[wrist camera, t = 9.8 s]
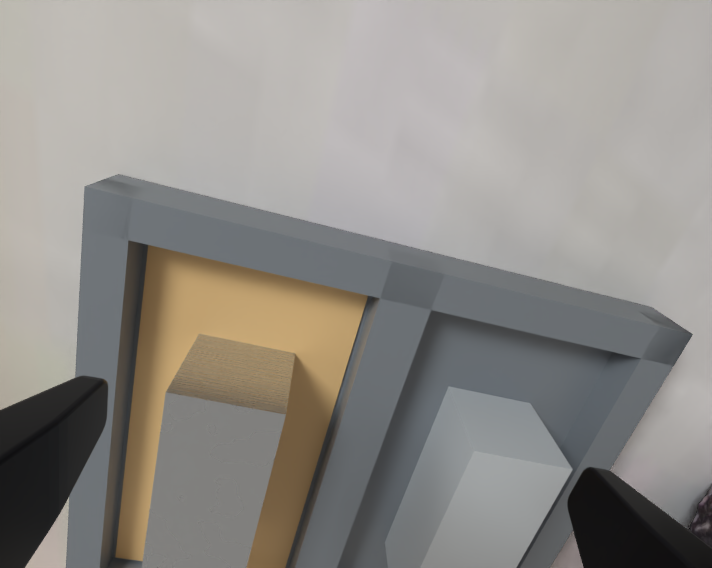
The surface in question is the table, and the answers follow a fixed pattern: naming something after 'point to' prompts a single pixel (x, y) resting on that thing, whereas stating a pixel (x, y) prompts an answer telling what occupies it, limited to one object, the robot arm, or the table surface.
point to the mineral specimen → (703, 520)
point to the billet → (216, 453)
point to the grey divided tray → (356, 384)
